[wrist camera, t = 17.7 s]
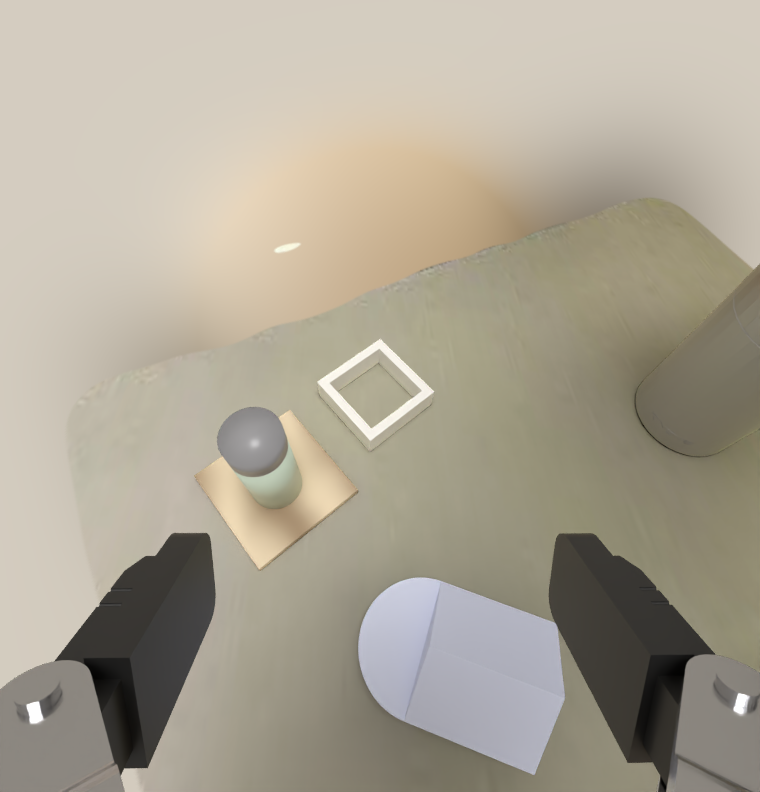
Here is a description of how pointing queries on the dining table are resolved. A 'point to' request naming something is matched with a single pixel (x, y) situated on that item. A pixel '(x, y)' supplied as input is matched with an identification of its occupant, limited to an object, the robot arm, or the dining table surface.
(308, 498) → the pad
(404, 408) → the collar
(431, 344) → the dining table surface
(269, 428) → the plug
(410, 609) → the wedge on round base
